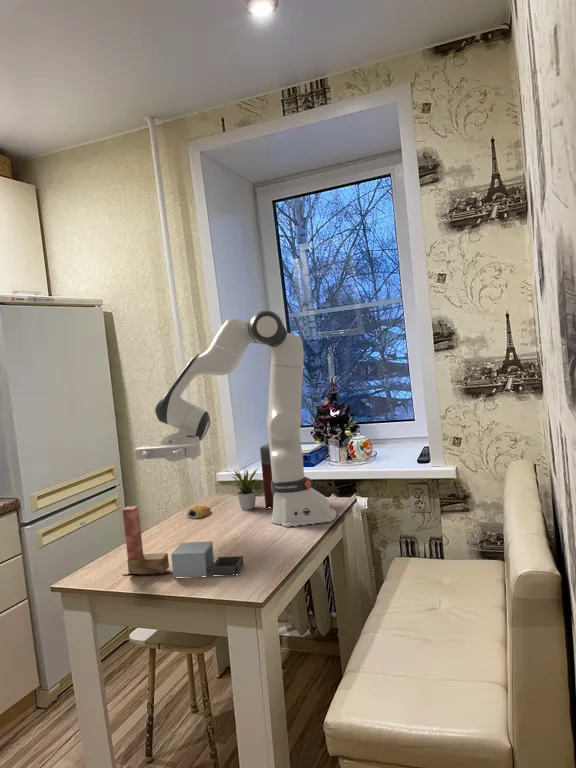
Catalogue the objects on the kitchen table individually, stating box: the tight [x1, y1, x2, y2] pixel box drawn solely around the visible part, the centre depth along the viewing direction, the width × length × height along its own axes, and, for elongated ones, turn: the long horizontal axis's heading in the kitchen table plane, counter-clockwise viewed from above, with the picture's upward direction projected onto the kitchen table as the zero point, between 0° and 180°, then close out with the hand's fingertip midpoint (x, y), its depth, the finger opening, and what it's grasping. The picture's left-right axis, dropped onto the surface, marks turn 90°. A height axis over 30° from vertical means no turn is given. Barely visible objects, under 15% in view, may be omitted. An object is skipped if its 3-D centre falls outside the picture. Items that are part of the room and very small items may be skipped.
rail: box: [122, 568, 212, 576], centre depth 166 cm, size 26×1×1 cm, turn 82°
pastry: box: [186, 505, 212, 520], centre depth 222 cm, size 9×7×4 cm
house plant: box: [224, 466, 260, 511], centre depth 225 cm, size 14×14×16 cm
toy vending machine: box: [259, 443, 273, 509], centre depth 225 cm, size 9×11×28 cm
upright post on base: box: [122, 505, 170, 576], centre depth 166 cm, size 10×4×18 cm, turn 82°
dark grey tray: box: [210, 555, 245, 577], centre depth 164 cm, size 7×8×2 cm
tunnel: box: [170, 540, 215, 579], centre depth 165 cm, size 9×9×7 cm
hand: (159, 455), depth 181 cm, fingers open, 8 cm apart
